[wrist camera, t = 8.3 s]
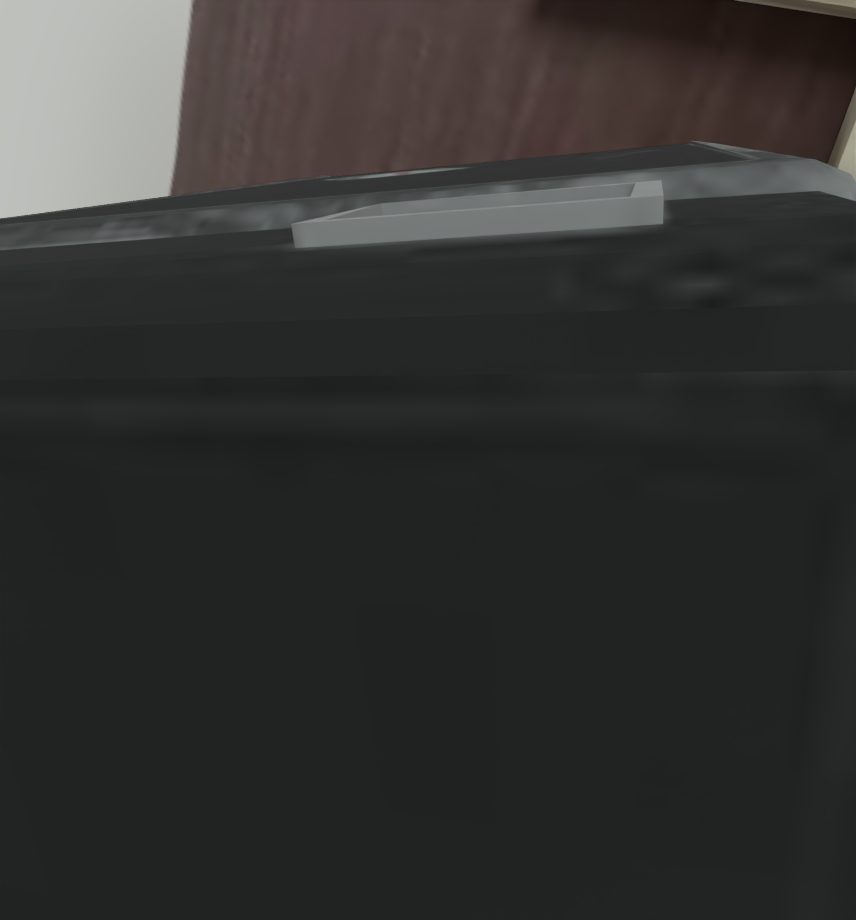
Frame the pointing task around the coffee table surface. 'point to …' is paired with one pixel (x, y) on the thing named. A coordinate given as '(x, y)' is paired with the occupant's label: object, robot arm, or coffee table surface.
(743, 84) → the coffee table surface
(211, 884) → the camera
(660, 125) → the coffee table surface
